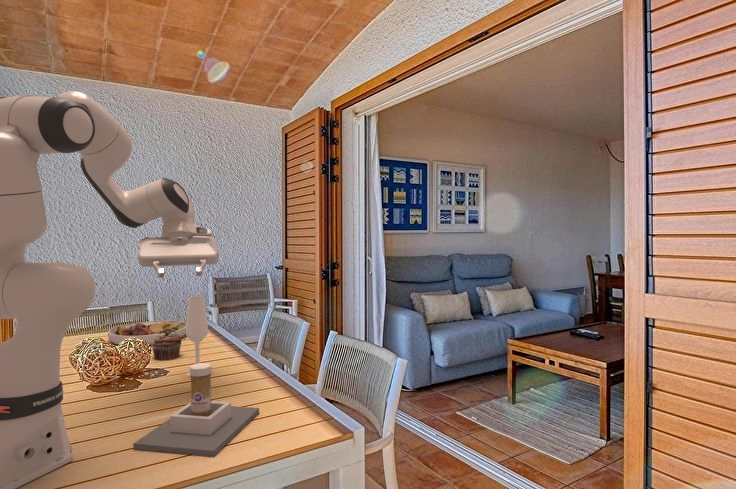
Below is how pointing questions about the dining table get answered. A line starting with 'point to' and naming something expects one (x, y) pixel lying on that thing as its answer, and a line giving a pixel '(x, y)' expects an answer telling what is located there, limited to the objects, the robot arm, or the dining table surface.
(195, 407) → the sprinkles bottle
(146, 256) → the robot arm
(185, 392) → the dining table surface
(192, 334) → the champagne flute
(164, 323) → the bowl
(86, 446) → the dining table surface
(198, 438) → the socket board
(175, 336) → the cupcake
